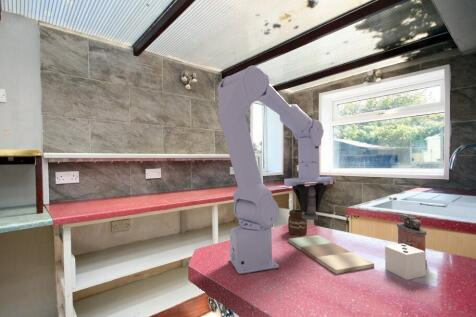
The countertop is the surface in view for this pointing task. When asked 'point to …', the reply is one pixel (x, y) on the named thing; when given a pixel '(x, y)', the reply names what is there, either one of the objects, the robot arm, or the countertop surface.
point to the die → (405, 261)
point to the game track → (330, 254)
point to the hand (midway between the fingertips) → (309, 210)
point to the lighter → (411, 233)
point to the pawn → (311, 205)
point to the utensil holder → (296, 222)
